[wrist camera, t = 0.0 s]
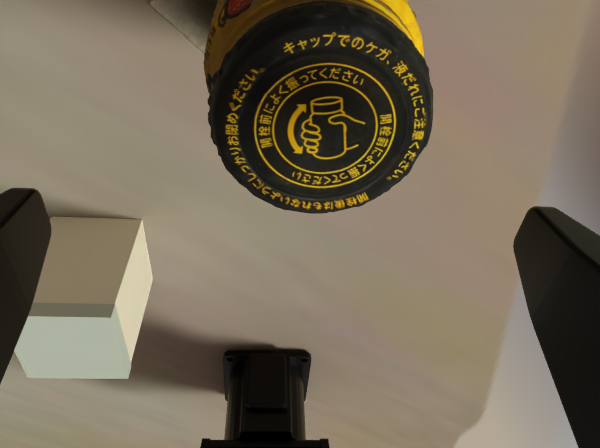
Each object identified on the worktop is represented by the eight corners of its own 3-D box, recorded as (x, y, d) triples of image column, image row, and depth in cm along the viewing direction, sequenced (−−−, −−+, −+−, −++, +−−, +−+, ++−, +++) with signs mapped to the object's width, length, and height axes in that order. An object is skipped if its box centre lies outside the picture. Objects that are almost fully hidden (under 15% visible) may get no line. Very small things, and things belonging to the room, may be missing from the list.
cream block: (153, 279, 31) (128, 378, 26) (71, 277, 31) (28, 377, 26) (142, 218, 28) (110, 317, 23) (50, 215, 28) (-5, 315, 22)
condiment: (417, -9, 21) (527, 141, 12) (272, 116, 24) (268, 306, 15) (301, -176, 17) (326, -147, 8) (149, 1, 21) (47, 160, 11)
